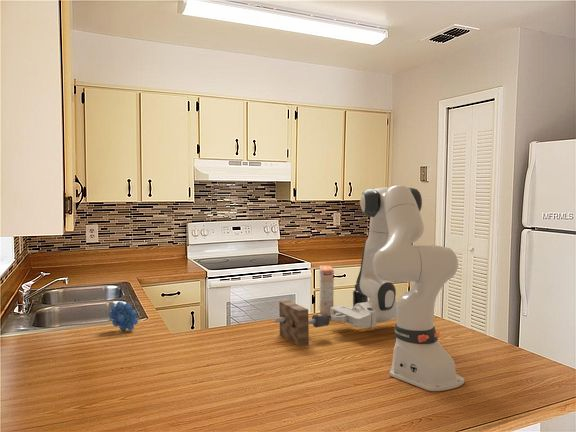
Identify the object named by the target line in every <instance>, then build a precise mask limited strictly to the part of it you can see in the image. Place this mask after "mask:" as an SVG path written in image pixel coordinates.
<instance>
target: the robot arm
mask: <svg viewBox="0 0 576 432" xmlns="http://www.w3.org/2000/svg"><path fill="white" fill-rule="evenodd" d="M359 204H360V208H361V212H362V214H363V215H364V216H366V217H369V218H370V220H369V230H368V231H369V232H368V237H367V238H366V239H365V242H364V244H363V249H362V255H361V260H360V268H359V273H358V276H357V277H356V283H355V285H356V287H357V290H358V292H359V293H361V294H363V295H365V296H367V297H368V298H369V300H368V302H363V303H357V304H355V305H354V307H350V306H349V305H337V306H336V305H333V307H331V308H330V315H331V316H330V321H333V322H336V323H337V322H343V323H344V322H345V323H346V324H349V325H351V326H354V327H355V328H358V329H359V328H360V329H362V328H376V326H377V324H379V323H386V322H389V321H393V320H394V319H396V323H395V324H394V336H395V343H394V347H393V351H392V362H391V363H392V364H391V367H390V370H389V374H388V375H389V376H390V377H392V378H395V379H396V380H397V379H398V380H400V381H402V382H405V383H408V384H409V385H410V384H411V385H414V386H416V387H418V388H421V389H423V390H425V391H429V392H441V391H447V390H452V389H456V388H459V387H461V386H462V385H464V383H465V378H464V377H462V376H461V375H459V374H458V373H457V371H456V364H455V363H456V362H455V361H454V359H453V358H452V357H451V354H449V352H447V351H446V349H445V348H444V347H443V346H442V344H441V343H440V342H439V337H440V335H441V332H437V330H436V327H435V325H434V321H435V320H434V316H435V304H436V302H437V301H436V300H437V297H438V295H439V292H440V291H441V290H442V288H443V286H445V284H446V283H447V282H448V281H450V280H451V279H452V278H453V277H454V276H455V275H456V273H457V271H458V267H459V261H458V256H457V254H456V253H455V252H454V250H453V249H452V248H451V247H446V246H441V245H436V244H432V245H429V244H428V245H413V244H414V243H415V242H417V241H418V240H419V239H421V237H422V236H423V234H424V230H425V226H424V223H423V220H422V217H421V216H422V215H421V213H420V212H421V211H422V205H423V198H422V195H421V193H420V191H419V190H418V189H417V188H414V187H407V186H405V185H399V184H398V185H397V184H396V185H393V186H386V187H385V186H383V187H377V188H374V187H370V188H367V189H364V191H362V194H361V197H360V201H359ZM392 282H394V283H399V282H400V283H403V282H404V283H406V282H408V283H411V282H414V284H413V286H412V287H411V289H410V290H408V291H407V292H404V293H403V294H401V295H400V297H399V298H398V299H397V300H396V295H397V290H396V286H395V284H393V283H392Z"/></svg>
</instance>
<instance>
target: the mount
mask: <svg viewBox="0 0 576 432" xmlns="http://www.w3.org/2000/svg"><path fill="white" fill-rule="evenodd" d="M278 304H279V317H286V321H285V322H279V335H280V336H282V337H283V338H284V339H286V340H288V341H290V342H291V343H293V344H294V345H296V346H298V347H303V346H308V345H309V342H310V341H309V340H310V339H309V334H310V333H309V330H310V329H309V328H310V327H309V323H308V320H309V309H308V308H306V307H304V306H302V305H299V304H297V303H295V302H294V301H291V300H281V301H279V303H278ZM295 322H296V326H295Z"/></svg>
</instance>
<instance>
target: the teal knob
mask: <svg viewBox="0 0 576 432" xmlns="http://www.w3.org/2000/svg"><path fill="white" fill-rule="evenodd" d="M285 321H286V317H280V316H279V317H275V318H274V323H275V324H280V322H285Z"/></svg>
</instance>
